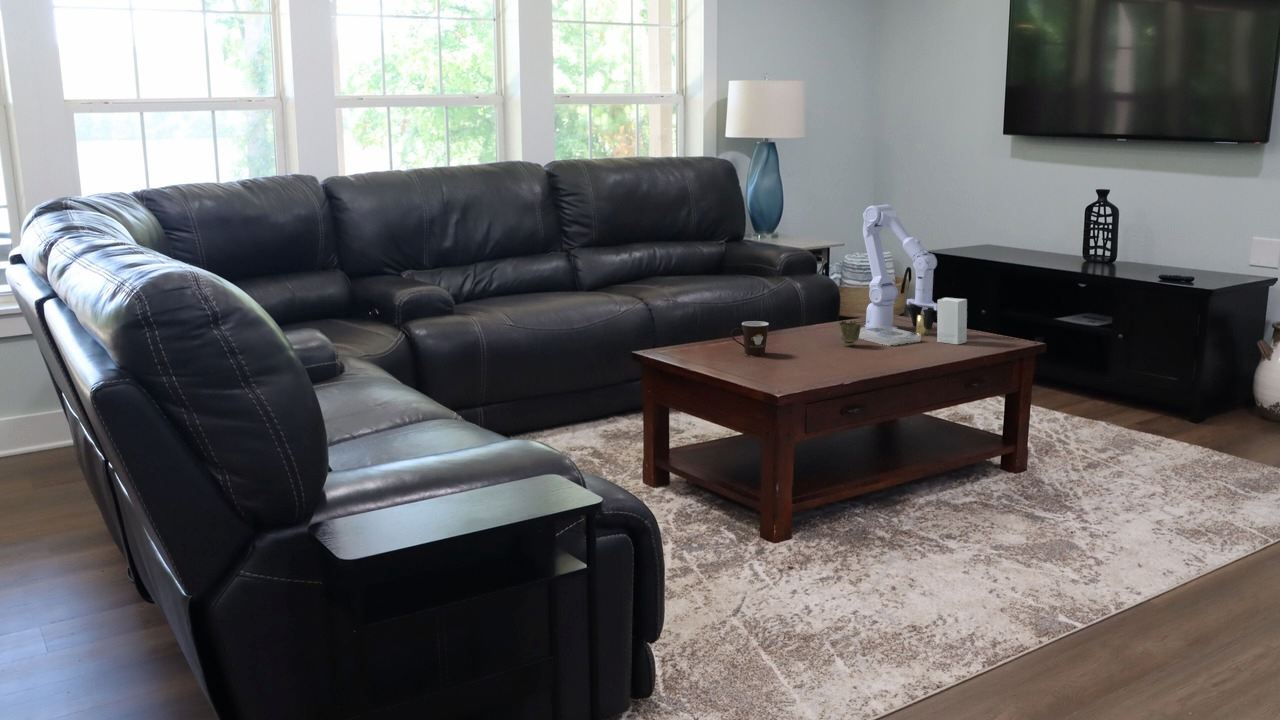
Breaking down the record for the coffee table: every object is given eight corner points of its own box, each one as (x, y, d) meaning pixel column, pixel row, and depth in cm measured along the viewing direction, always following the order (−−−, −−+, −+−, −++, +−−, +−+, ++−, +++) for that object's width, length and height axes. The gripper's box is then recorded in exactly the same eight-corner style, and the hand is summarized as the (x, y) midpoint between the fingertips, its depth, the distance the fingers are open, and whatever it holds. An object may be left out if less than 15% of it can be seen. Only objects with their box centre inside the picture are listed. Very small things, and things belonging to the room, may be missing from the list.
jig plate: (849, 336, 381) (850, 328, 380) (880, 331, 387) (881, 325, 387) (888, 346, 364) (889, 338, 363) (920, 341, 370) (920, 334, 370)
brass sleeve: (913, 334, 383) (914, 314, 381) (922, 333, 385) (923, 313, 383) (921, 336, 379) (922, 316, 378) (930, 335, 381) (931, 315, 380)
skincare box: (966, 342, 368) (969, 299, 365) (957, 345, 364) (959, 301, 361) (944, 339, 374) (946, 296, 371) (935, 341, 370) (937, 298, 367)
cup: (859, 343, 368) (860, 320, 366) (861, 348, 360) (862, 324, 359) (836, 343, 368) (837, 320, 367) (838, 348, 361) (839, 324, 359)
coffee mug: (770, 351, 356) (770, 321, 354) (765, 357, 348) (766, 326, 346) (735, 350, 360) (735, 320, 357) (729, 355, 351) (730, 325, 349)
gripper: (947, 291, 374) (945, 329, 377) (918, 285, 387) (916, 323, 390) (932, 292, 371) (930, 332, 374) (902, 287, 383) (901, 325, 386)
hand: (922, 327), depth 382 cm, fingers open, 6 cm apart
